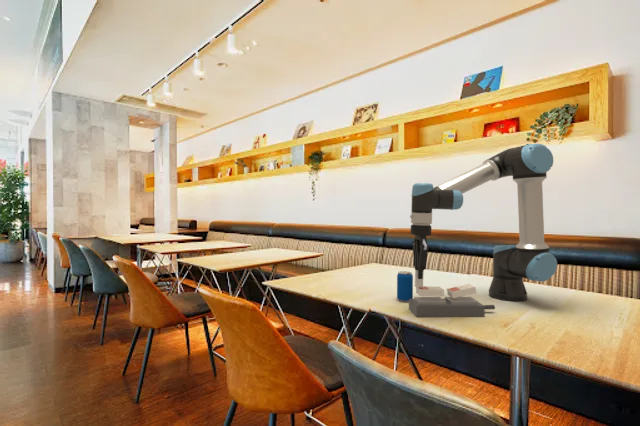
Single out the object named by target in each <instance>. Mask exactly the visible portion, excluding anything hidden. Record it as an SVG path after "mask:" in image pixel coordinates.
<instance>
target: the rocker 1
mask: <svg viewBox="0 0 640 426" xmlns="http://www.w3.org/2000/svg"><path fill="white" fill-rule="evenodd" d="M415 293H416V294H417V295H418V297H445V289H444V288H442V287H441V286H425V285H423V287H415Z"/></svg>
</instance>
